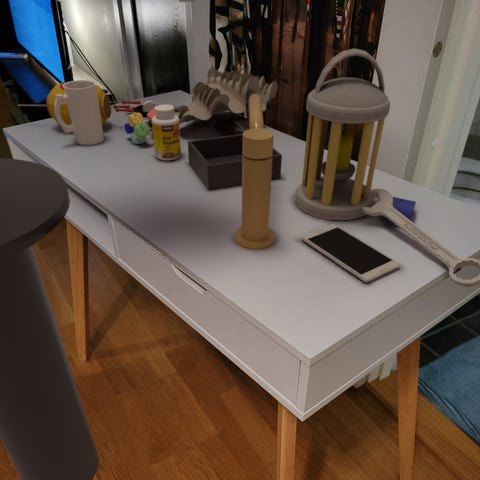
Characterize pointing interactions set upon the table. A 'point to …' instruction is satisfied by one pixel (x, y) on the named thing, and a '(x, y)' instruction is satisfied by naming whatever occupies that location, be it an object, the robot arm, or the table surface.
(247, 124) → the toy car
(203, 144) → the tray
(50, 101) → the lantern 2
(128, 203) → the table surface
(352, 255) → the smartphone
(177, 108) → the pen
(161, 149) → the supplement bottle
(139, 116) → the dice
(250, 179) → the faucet column
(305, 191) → the lantern
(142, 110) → the watch
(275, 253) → the table surface
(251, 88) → the seashell
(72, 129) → the mug
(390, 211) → the wrench
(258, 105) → the spout
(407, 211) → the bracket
